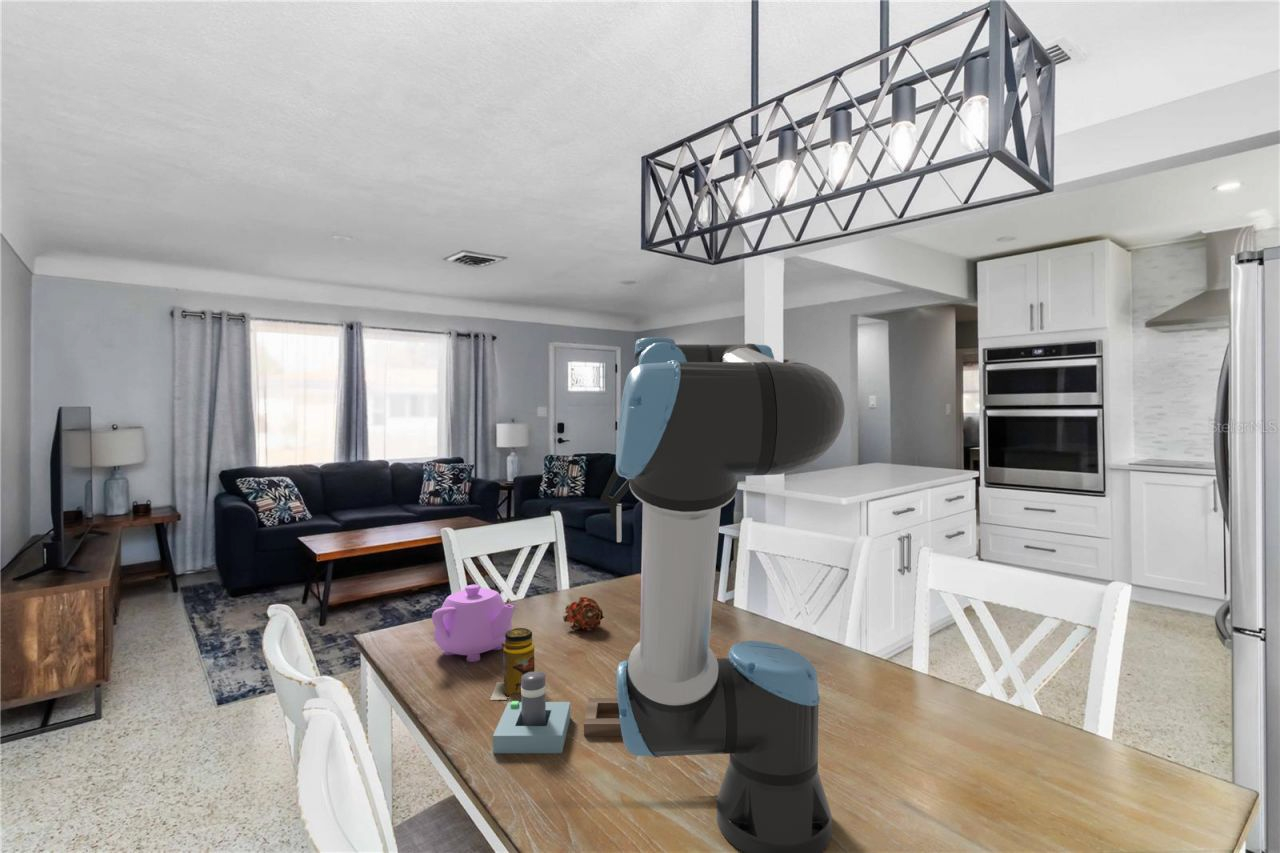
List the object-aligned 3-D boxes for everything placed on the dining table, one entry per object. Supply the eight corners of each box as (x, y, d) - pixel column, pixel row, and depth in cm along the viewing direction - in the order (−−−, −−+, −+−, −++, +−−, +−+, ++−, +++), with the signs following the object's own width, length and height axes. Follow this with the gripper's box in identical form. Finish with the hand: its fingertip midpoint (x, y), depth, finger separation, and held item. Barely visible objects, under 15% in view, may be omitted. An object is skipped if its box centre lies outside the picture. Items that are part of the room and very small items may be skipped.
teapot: (475, 681, 125) (474, 608, 125) (409, 661, 135) (407, 594, 135) (537, 647, 142) (536, 584, 142) (474, 632, 152) (473, 572, 152)
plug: (544, 741, 101) (543, 682, 100) (519, 741, 101) (518, 682, 100) (548, 728, 105) (547, 671, 104) (524, 728, 105) (523, 671, 105)
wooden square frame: (637, 742, 102) (637, 723, 102) (584, 742, 102) (583, 724, 102) (638, 715, 111) (638, 697, 111) (588, 715, 111) (588, 698, 111)
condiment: (534, 699, 117) (533, 638, 117) (489, 701, 117) (488, 639, 117) (538, 682, 125) (538, 624, 124) (497, 683, 124) (496, 625, 124)
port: (562, 760, 97) (561, 731, 97) (493, 760, 97) (492, 732, 97) (570, 724, 108) (570, 698, 108) (508, 724, 108) (508, 698, 108)
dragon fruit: (599, 642, 150) (568, 636, 158) (617, 614, 155) (585, 610, 163) (581, 619, 146) (550, 614, 154) (599, 591, 152) (568, 588, 160)
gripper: (722, 423, 114) (722, 535, 115) (588, 423, 115) (590, 536, 115) (727, 424, 107) (727, 544, 108) (585, 425, 107) (586, 545, 108)
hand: (656, 540), depth 111 cm, fingers open, 13 cm apart
